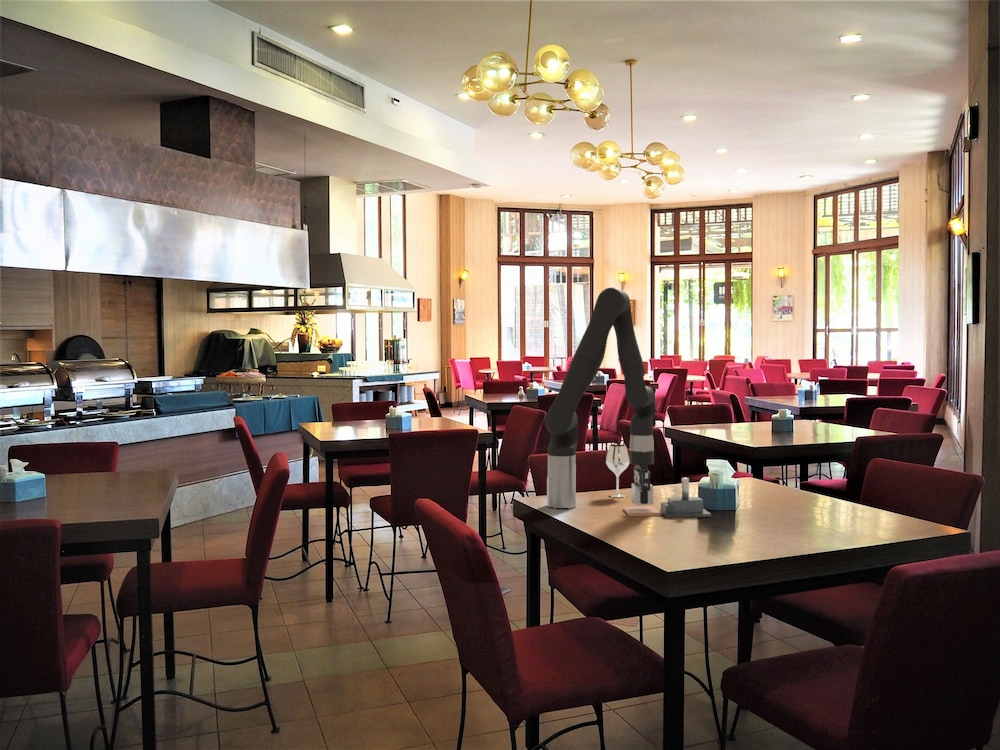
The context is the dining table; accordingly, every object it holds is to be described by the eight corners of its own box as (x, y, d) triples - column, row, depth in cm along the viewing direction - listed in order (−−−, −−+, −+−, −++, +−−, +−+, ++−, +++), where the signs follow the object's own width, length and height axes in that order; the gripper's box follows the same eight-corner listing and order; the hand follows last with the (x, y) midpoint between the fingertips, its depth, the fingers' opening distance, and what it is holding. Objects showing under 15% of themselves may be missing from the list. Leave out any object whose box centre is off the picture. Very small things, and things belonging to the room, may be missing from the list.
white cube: (635, 505, 267) (635, 486, 267) (631, 501, 273) (631, 483, 273) (653, 504, 268) (652, 485, 267) (649, 501, 273) (648, 482, 273)
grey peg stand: (666, 517, 263) (666, 480, 262) (660, 512, 271) (660, 476, 270) (711, 516, 263) (711, 479, 263) (703, 511, 271) (703, 476, 271)
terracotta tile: (628, 516, 265) (629, 512, 265) (622, 509, 275) (622, 506, 275) (660, 515, 266) (660, 512, 266) (653, 509, 276) (653, 506, 276)
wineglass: (630, 498, 296) (630, 446, 295) (607, 498, 296) (607, 446, 296) (627, 494, 304) (627, 444, 304) (604, 494, 304) (604, 444, 304)
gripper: (625, 446, 277) (625, 498, 277) (634, 451, 262) (635, 506, 263) (648, 446, 277) (648, 497, 278) (658, 451, 263) (659, 505, 263)
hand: (642, 501), depth 270 cm, fingers closed on white cube, 5 cm apart
